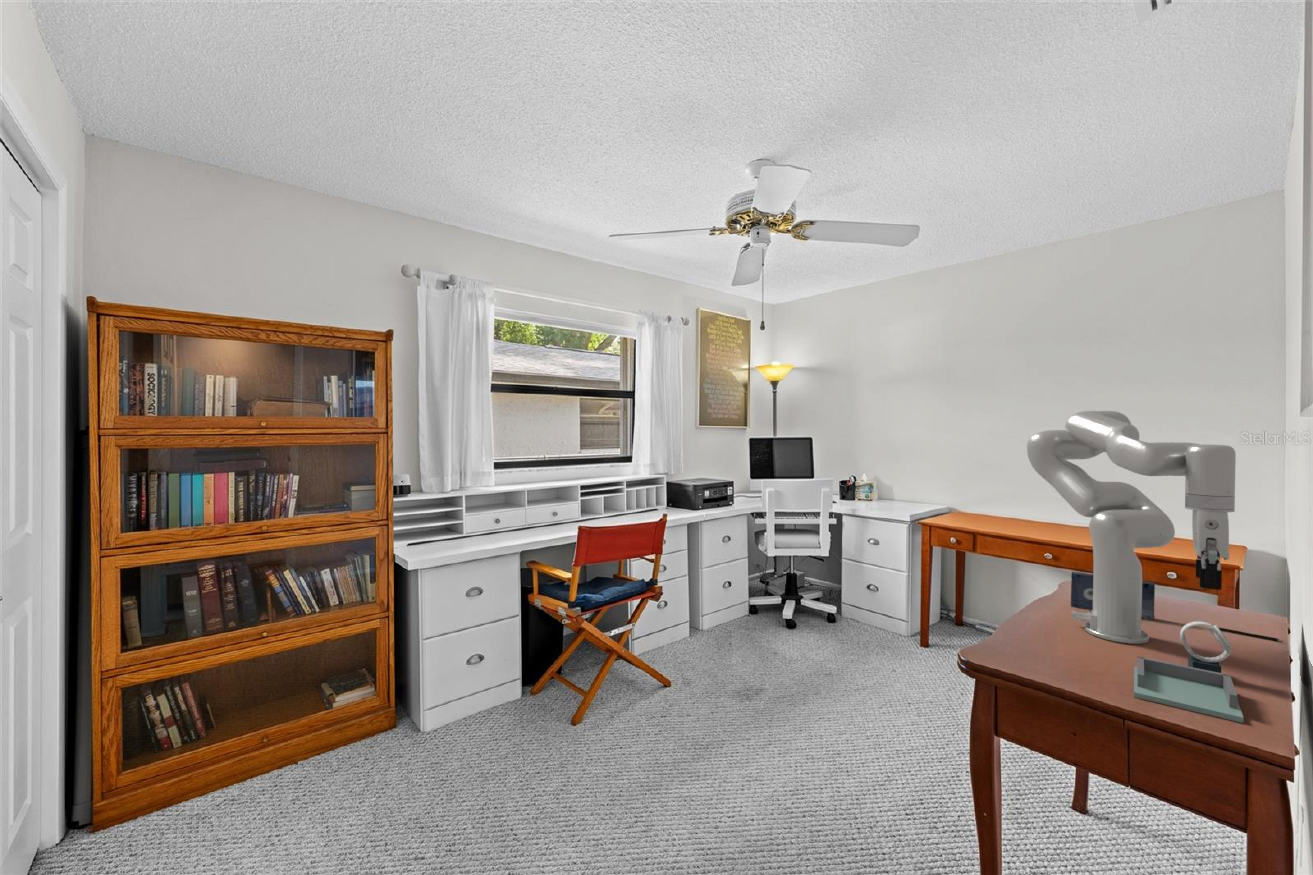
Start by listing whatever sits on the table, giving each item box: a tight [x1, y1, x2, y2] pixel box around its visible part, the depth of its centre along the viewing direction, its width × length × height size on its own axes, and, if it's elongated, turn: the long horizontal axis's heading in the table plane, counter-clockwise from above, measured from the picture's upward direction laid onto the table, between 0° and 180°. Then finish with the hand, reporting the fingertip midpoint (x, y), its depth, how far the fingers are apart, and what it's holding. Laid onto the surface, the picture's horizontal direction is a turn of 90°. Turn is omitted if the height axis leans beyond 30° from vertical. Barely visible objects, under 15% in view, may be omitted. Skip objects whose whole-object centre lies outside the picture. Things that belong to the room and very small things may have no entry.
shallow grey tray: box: [1133, 656, 1245, 724], centre depth 112 cm, size 15×15×4 cm
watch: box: [1179, 620, 1233, 673], centre depth 121 cm, size 6×8×11 cm
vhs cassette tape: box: [1070, 570, 1156, 621], centre depth 159 cm, size 18×3×10 cm, turn 49°
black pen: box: [1218, 626, 1284, 644], centre depth 142 cm, size 12×1×1 cm, turn 42°
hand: (1207, 583), depth 120 cm, fingers open, 9 cm apart
